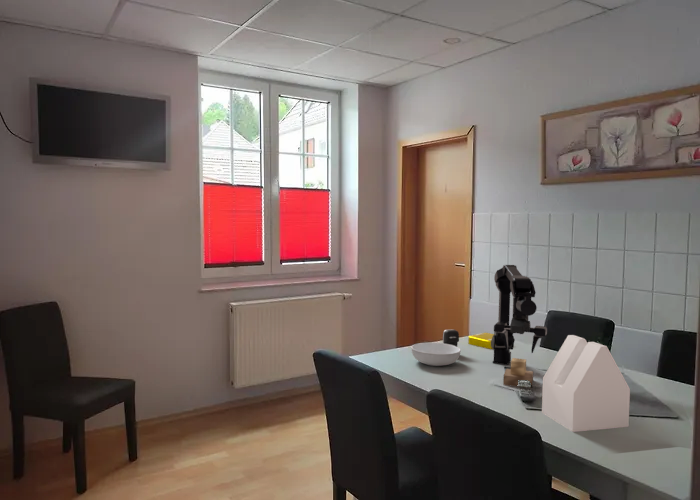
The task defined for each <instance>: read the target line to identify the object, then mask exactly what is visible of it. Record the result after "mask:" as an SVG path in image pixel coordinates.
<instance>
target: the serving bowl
mask: <svg viewBox="0 0 700 500" xmlns="http://www.w3.org/2000/svg"><path fill="white" fill-rule="evenodd" d="M411 353H412V356H413V358H414V359H415V360H417V361H418V362H420V363H422V364H424V365H426V366H427V365H428V366H432V367H443V366H448V365H452V364H454V363H456V362H457V360H458V359H459V358H460V355H461V348H460V347H458V346H457V347H456V346H453V345H450V344H444V343H443V342H420V343H419V342H418V343H415V344H412V345H411Z"/></svg>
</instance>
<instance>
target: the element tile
mask: <svg viewBox="0 0 700 500" xmlns="http://www.w3.org/2000/svg"><path fill="white" fill-rule="evenodd" d="M493 335H494V333H490V332H481V333H476V334H472V335H468V339H467V340H468V342H467V343H468V345H471V346H475V347H480V348H482V349H483V348H484V349H488V350H494V349H493V348H492V347H491V340H492V337H493Z"/></svg>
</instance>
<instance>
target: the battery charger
mask: <svg viewBox="0 0 700 500" xmlns="http://www.w3.org/2000/svg"><path fill="white" fill-rule="evenodd" d="M458 342H460V333H459V331H458V330H456V329H444V330H443V333H442V343H444V344H450V345H453V346H456V347H458Z"/></svg>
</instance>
